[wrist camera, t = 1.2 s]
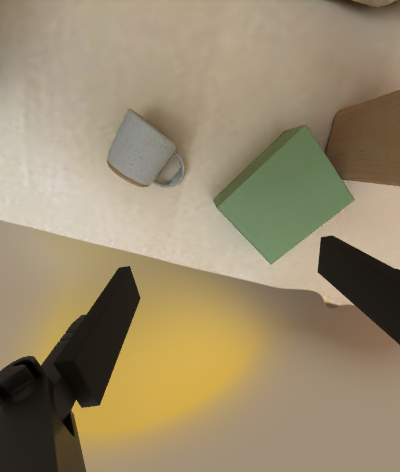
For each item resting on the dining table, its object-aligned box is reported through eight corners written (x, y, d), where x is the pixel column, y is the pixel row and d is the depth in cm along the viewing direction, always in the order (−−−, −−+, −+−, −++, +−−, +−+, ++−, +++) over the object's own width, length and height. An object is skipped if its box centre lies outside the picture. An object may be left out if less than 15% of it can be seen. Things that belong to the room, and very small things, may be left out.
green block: (212, 200, 34) (216, 207, 29) (285, 130, 31) (306, 124, 25) (259, 249, 38) (271, 264, 33) (329, 193, 35) (355, 199, 29)
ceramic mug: (114, 161, 31) (91, 161, 24) (137, 114, 29) (121, 99, 22) (169, 197, 34) (164, 207, 27) (195, 156, 32) (196, 156, 25)
